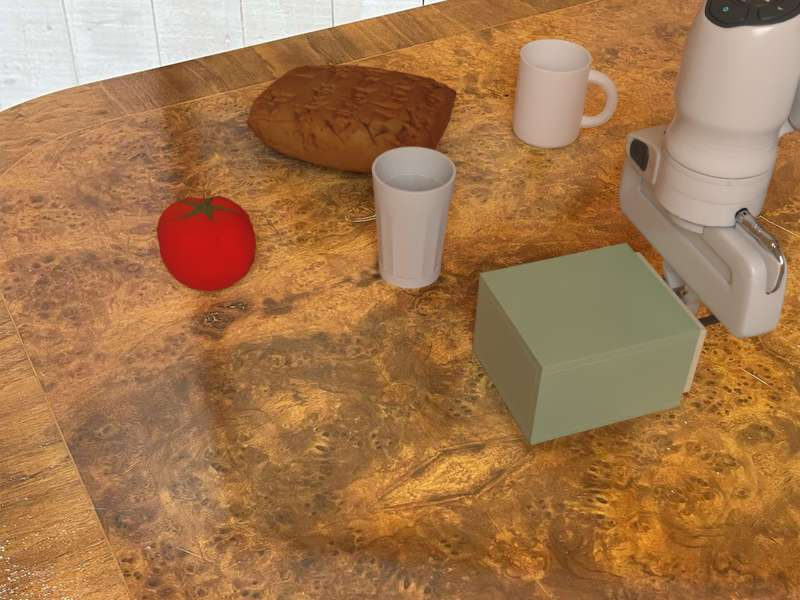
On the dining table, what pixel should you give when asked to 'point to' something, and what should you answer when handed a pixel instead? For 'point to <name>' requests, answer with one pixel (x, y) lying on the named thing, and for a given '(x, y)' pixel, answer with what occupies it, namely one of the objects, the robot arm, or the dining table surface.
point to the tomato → (206, 242)
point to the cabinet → (582, 341)
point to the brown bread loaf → (350, 114)
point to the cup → (412, 213)
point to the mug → (556, 93)
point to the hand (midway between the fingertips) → (679, 308)
